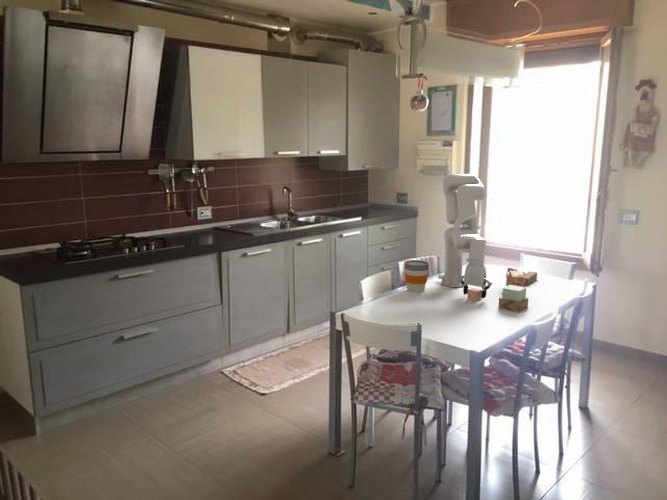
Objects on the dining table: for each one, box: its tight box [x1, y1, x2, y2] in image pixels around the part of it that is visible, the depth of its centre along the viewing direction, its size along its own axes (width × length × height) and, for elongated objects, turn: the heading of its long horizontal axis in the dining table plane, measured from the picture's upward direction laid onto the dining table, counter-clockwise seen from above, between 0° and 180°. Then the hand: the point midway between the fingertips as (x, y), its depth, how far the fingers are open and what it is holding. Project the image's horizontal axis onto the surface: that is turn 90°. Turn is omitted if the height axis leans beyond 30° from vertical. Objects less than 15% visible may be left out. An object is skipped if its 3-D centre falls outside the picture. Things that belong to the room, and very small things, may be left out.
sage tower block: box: [501, 285, 527, 301], centre depth 258 cm, size 8×8×5 cm
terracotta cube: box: [466, 287, 483, 302], centre depth 272 cm, size 5×5×5 cm
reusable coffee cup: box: [404, 259, 430, 294], centre depth 285 cm, size 13×13×15 cm
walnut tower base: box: [498, 296, 529, 313], centre depth 259 cm, size 10×10×5 cm
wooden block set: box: [506, 267, 538, 287], centre depth 309 cm, size 17×6×18 cm
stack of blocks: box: [505, 270, 525, 287], centre depth 280 cm, size 21×6×12 cm, turn 169°
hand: (474, 295), depth 272 cm, fingers open, 9 cm apart
